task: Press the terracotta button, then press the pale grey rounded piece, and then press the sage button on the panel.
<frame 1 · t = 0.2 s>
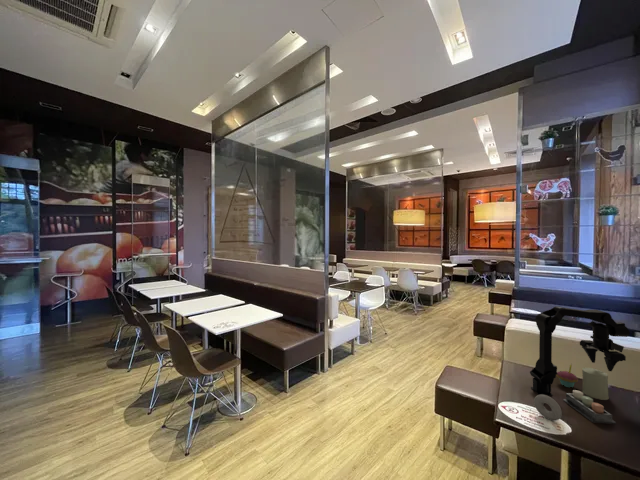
hand: (601, 366, 132), 14 cm above the table, fingers open, 9 cm apart
pale grey rounded piece: (578, 395, 125), point 4 cm above the table, slide at 0.0 cm
can: (595, 395, 133), on the table
donut: (547, 419, 116), on the table
sage button: (587, 402, 120), point 4 cm above the table, slide at 0.0 cm
cupcake: (567, 385, 142), on the table
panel: (587, 411, 120), on the table
terracotta button: (597, 409, 115), point 4 cm above the table, slide at 0.0 cm
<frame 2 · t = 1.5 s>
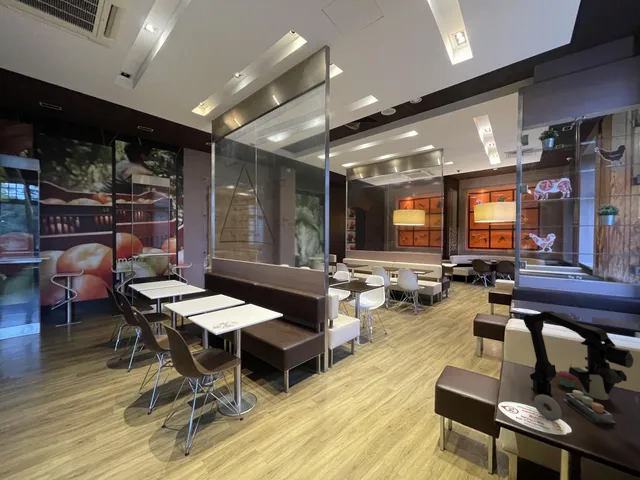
hand: (597, 393, 115), 11 cm above the table, fingers open, 7 cm apart
nothing on the table moved.
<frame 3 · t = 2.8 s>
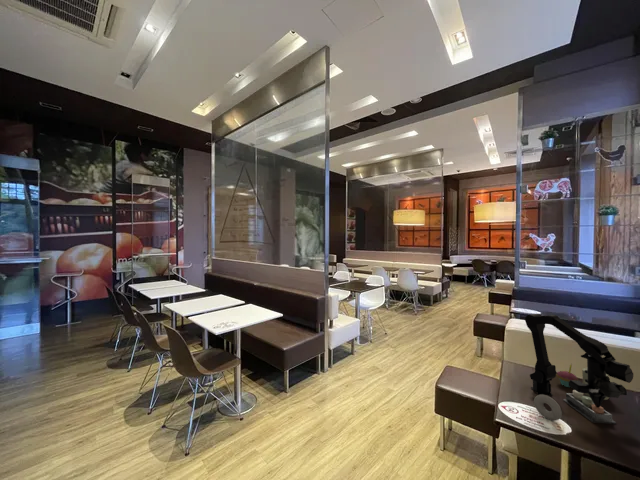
hand: (597, 406, 115), 5 cm above the table, fingers closed, pressing on terracotta button
terracotta button: (597, 410, 115), point 3 cm above the table, slide at 0.8 cm, touching gripper
everything else where it was.
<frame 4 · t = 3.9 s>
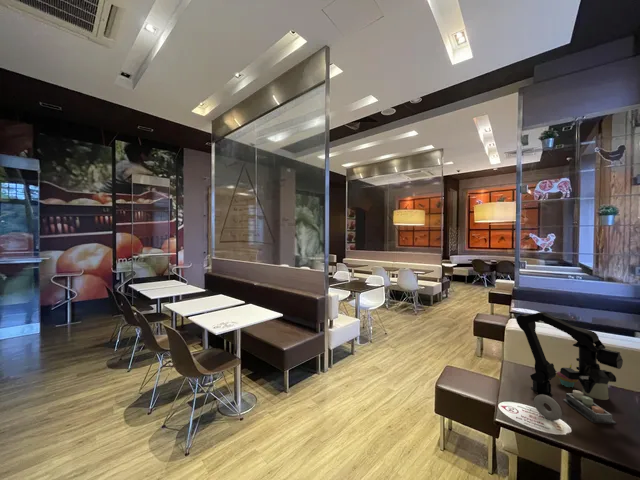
hand: (587, 392, 120), 9 cm above the table, fingers closed
terracotta button: (597, 412, 115), point 3 cm above the table, slide at 1.5 cm
everything else where it was.
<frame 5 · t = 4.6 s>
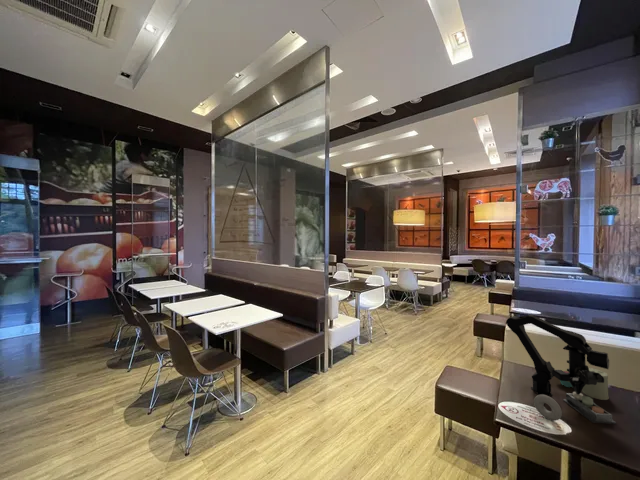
hand: (577, 393, 125), 5 cm above the table, fingers closed, pressing on pale grey rounded piece
pale grey rounded piece: (578, 397, 125), point 3 cm above the table, slide at 0.9 cm, touching gripper
everything else where it was.
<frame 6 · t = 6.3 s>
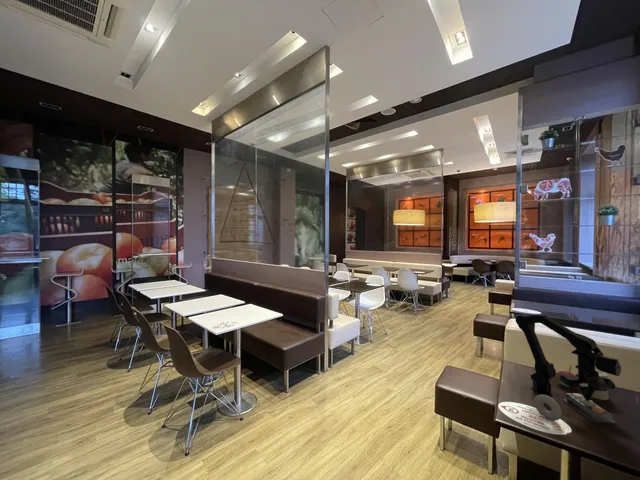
hand: (587, 400, 120), 5 cm above the table, fingers closed, pressing on sage button
pale grey rounded piece: (578, 399, 125), point 3 cm above the table, slide at 1.5 cm
sage button: (587, 404, 120), point 3 cm above the table, slide at 1.0 cm, touching gripper
everything else where it was.
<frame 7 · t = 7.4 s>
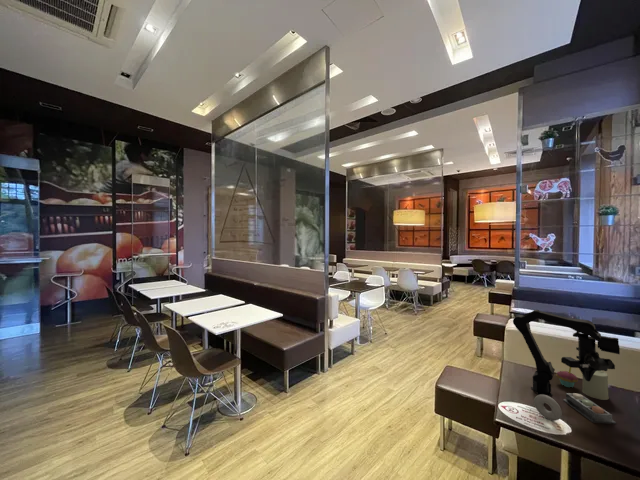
hand: (587, 381, 124), 12 cm above the table, fingers closed
sage button: (587, 405, 120), point 3 cm above the table, slide at 1.5 cm
everything else where it was.
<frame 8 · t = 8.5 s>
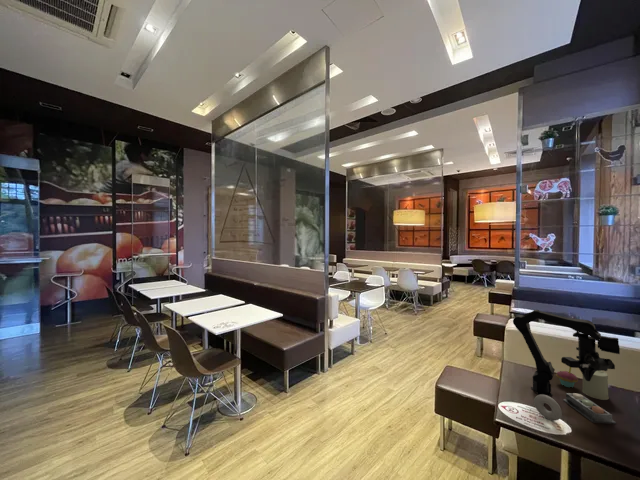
hand: (587, 380, 124), 12 cm above the table, fingers closed
nothing on the table moved.
at the end: terracotta button slide at 1.5 cm; pale grey rounded piece slide at 1.5 cm; sage button slide at 1.5 cm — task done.
